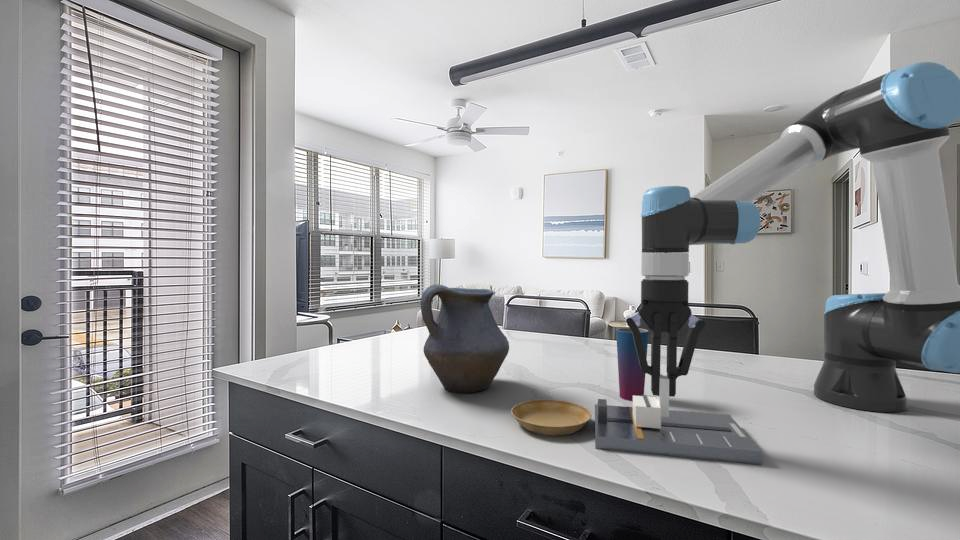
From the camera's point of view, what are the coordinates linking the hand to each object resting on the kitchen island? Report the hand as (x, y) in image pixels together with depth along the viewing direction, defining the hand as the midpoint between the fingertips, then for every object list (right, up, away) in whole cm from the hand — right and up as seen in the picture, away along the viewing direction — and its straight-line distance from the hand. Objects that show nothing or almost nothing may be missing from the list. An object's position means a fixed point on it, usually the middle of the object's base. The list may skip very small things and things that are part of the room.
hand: (662, 413), depth 77 cm
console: (+1, -4, 0) cm, 4 cm away
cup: (+2, -3, +21) cm, 22 cm away
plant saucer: (-19, -4, +6) cm, 20 cm away
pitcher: (-35, -3, +29) cm, 46 cm away
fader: (-3, -2, +1) cm, 3 cm away
